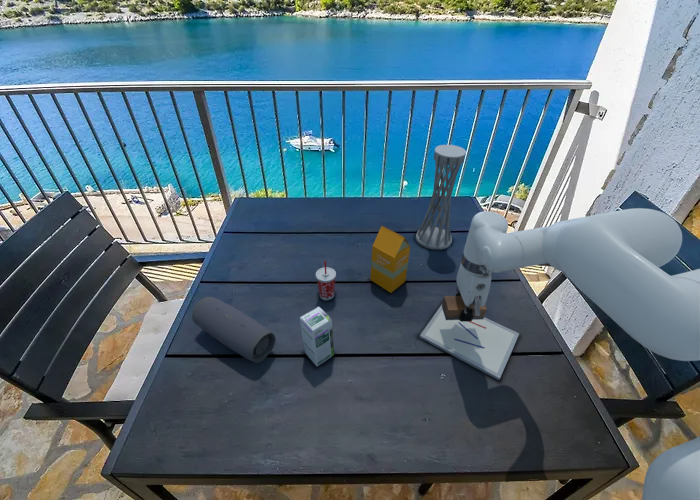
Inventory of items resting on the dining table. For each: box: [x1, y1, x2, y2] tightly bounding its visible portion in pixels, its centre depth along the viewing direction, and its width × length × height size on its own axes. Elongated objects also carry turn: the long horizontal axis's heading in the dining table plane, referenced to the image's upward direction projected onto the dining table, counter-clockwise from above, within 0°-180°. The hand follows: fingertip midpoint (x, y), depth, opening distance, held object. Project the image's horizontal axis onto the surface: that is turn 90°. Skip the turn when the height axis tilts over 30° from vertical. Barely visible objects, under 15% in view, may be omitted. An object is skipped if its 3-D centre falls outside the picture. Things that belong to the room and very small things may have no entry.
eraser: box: [441, 295, 488, 320], centre depth 93 cm, size 5×10×4 cm, turn 92°
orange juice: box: [370, 225, 411, 294], centre depth 108 cm, size 8×9×20 cm
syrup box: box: [299, 306, 335, 367], centre depth 88 cm, size 6×6×14 cm
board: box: [419, 304, 520, 381], centre depth 96 cm, size 22×17×1 cm
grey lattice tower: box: [415, 144, 467, 250], centre depth 122 cm, size 14×13×35 cm
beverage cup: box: [315, 260, 337, 301], centre depth 105 cm, size 6×6×14 cm
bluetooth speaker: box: [191, 296, 276, 364], centre depth 93 cm, size 23×9×10 cm, turn 57°
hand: (462, 311), depth 94 cm, fingers closed on eraser, 5 cm apart
